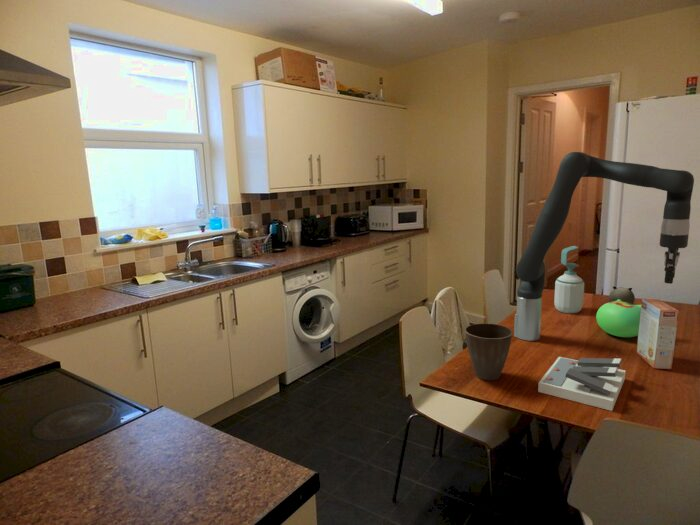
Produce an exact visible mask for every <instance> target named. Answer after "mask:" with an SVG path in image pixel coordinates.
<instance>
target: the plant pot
mask: <svg viewBox="0 0 700 525" xmlns="http://www.w3.org/2000/svg"><path fill="white" fill-rule="evenodd" d="M464 333H465V340H466V346H467V350H468V353H469V357H470V362H471V364H472V368H473V371H474V373H475V375H476V377H477V378H478V379H480V380H484V381H496V380H498V379H499V378H500V377H501V374H502V372H503V369H504V366H505V364H506V361H507V358H508V355H509V353H510V352H509V351H510V347H511V343H512V337H513V330H512V329H510V328H509V327H508V326H505V325H502V324H496V323H488V322H487V323H483V322H482V323H474V324H473V323H472V324H470V325H467V326H466V327H465V328H464Z"/></svg>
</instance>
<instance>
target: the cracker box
mask: <svg viewBox="0 0 700 525" xmlns="http://www.w3.org/2000/svg"><path fill="white" fill-rule="evenodd" d="M640 305H641V315H640V324H639V334H638V336H637V344H636V354H637V355H638V356H639V357H640V358H642V359H643V360H644V361H645V362H646V363H647V364H648V365H649V366H650V367H651V368H652V369H655V370H656V369H658V370H672V367H673V360H674V353H675V344H676V337H677V336H676V335H677V328H678V319H679V312H680V311H679V310H678V309H677V308H675V307H673V306H671V305H669V304H668V303H666V302H664V300H661V299H657V298H642V299H641V304H640Z"/></svg>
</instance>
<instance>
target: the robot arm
mask: <svg viewBox="0 0 700 525" xmlns="http://www.w3.org/2000/svg"><path fill="white" fill-rule="evenodd" d="M582 178H599V179H605V180H610V181H613V182H617V183H618V182H619V183H622V184H627V185H631V186H636V187H641V188H651V189H656V190H661V191H665V192H666V201H665V203H664V208H663V213H662V214H663V216H662V223H661V226H660V235H659V236H660V238H659V246H660V247H662V248H667V251H665V252H664V256H663V258H664V264H663V265H664V269H663V270H664V274H665V275H664V284H673V282H674V278H675V275H676V268H677V266H678V264H679V260H680V256H681V252H680V251H679V249H685V248H687V247H688V243H689V234H690V226H691V225H690V218H691V207H692V206H691V205H692V204H691V200H692V196H693V192H694V190H693V188H694V185H695V184H694V183H695V178H694V175H693V174H692V173H691V172H690V171H688V170H682V169H681V170H679V169H678V170H677V169H670V168H660V167H658V166H653V165H648V164H641V163H634V162H625V161H624V162H623V161H614V160H608V159H603V158H599V157H595V156H593V155H589V154H587V153H584V152H582V151H573V152H569V153H567V154H566V155H564V157H563V158H561V162H560V163H559V167H558V170H557V174H556V176H555V180H554V183H553V186H552V189H551V190H550V192H549V194H548V196H547V198H546V200H545V202H544V204H543V206H542V208H541V210H540V213H539V215H538V217H537V220H536V223H535V225H534V228H533V231H532V233H531V236H530V239H529V241H528V244H527V247H526V248H525V250H524V252H523V253H522V256H521V257H520V258H519V260H518V263H517V264H516V268H515V271H516V272H515V273H516V275H517V278H518V279H519V280H520V281H519V285H518V288H517V295H516V296H517V297H516V313H515V314H514V326H513V327H514V328H513V337H514V338H517V339H520V340H523V341H529V342H531V341H538V340H540V339H541V323H542V320H541V319H542V303H543V300H542V299H543V292H544V289H545V278H546V266H545V265H546V264H545V262H544V259H545V256H546V254H547V252H548V251H549V249H550V248H551V247H552V245H553V244H554V242H555V241H556V240H557V238H558V236H559V235H560V233H561V231H562V229H563V228H564V225H565V223H566V221H567V218H568V215H569V213H570V208H571V202H572V198H573V195H574V192H575V190H576V188H577V186H578V184H579V183H580V181H581V179H582Z"/></svg>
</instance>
